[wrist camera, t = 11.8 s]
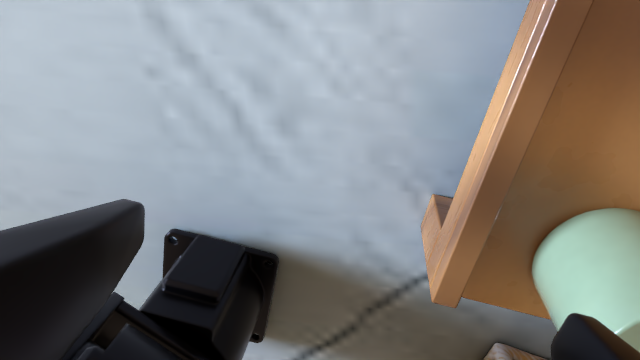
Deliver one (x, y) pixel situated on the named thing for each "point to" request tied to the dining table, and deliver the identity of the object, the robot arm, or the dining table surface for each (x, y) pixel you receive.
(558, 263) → the ceramic canister
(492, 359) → the decorative jar
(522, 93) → the shelf
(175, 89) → the dining table surface
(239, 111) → the dining table surface
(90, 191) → the dining table surface
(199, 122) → the dining table surface
